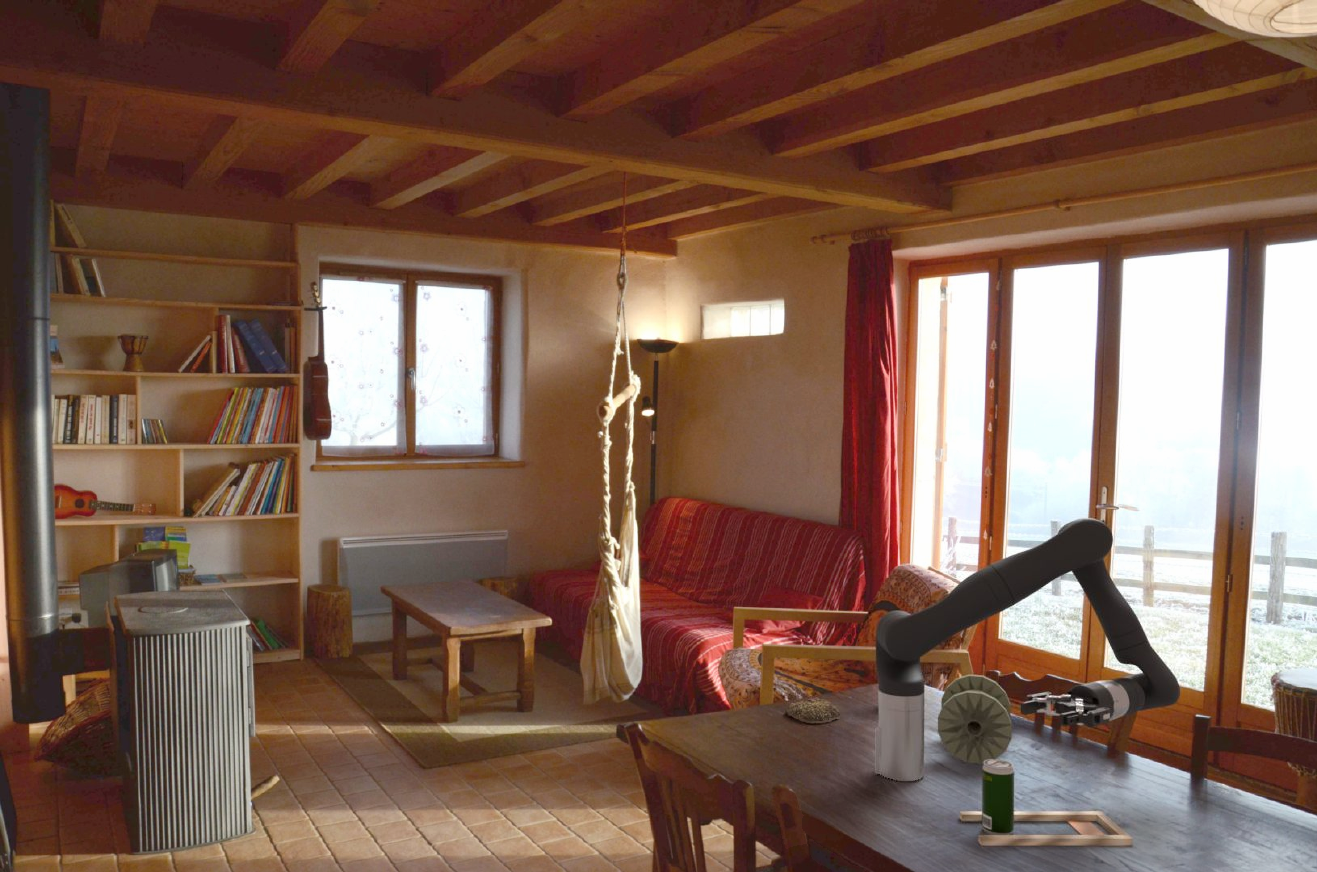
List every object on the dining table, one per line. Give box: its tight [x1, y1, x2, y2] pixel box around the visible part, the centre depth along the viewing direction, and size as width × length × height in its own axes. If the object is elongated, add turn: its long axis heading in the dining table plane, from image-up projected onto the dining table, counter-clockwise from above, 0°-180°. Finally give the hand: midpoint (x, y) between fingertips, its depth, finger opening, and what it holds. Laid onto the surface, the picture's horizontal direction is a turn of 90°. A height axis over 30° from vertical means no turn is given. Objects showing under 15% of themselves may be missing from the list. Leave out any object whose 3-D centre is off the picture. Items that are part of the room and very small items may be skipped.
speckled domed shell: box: [785, 697, 842, 721], centre depth 246 cm, size 13×12×5 cm
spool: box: [937, 674, 1013, 765], centre depth 220 cm, size 16×15×15 cm
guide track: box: [959, 810, 1134, 847], centre depth 176 cm, size 26×12×1 cm, turn 90°
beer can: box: [981, 758, 1015, 835], centre depth 176 cm, size 5×5×12 cm
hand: (1041, 714), depth 182 cm, fingers open, 8 cm apart
